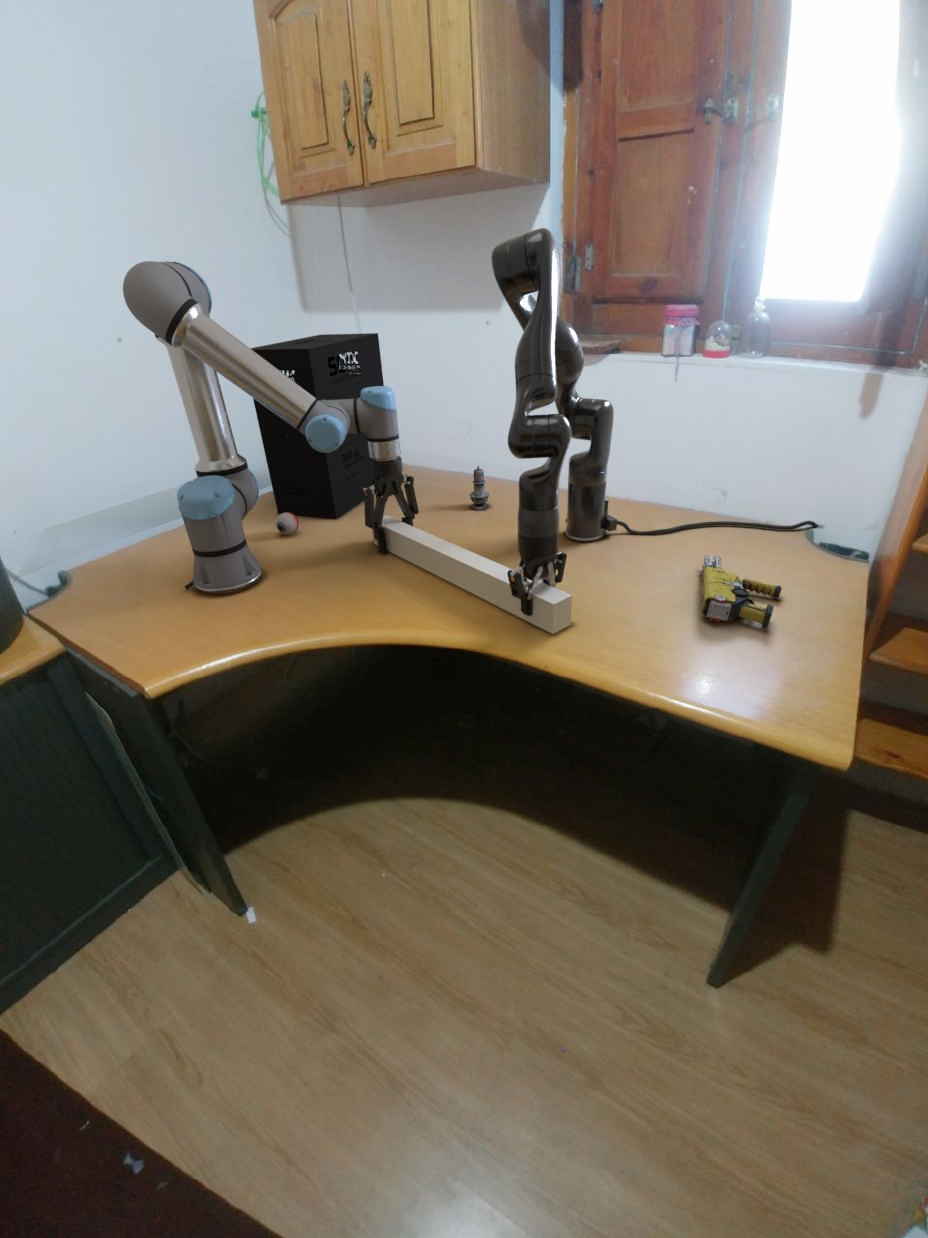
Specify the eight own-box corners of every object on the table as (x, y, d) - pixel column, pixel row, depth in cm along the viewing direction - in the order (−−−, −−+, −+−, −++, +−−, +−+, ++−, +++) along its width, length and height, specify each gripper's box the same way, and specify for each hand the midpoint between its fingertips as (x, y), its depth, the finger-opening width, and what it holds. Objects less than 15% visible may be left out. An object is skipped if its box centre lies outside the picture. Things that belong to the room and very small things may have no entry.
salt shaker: (488, 509, 173) (486, 468, 167) (468, 509, 175) (466, 468, 169) (491, 503, 178) (490, 462, 172) (471, 502, 180) (470, 462, 174)
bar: (570, 624, 116) (572, 595, 113) (553, 634, 114) (553, 604, 110) (389, 538, 159) (387, 515, 156) (373, 543, 156) (370, 520, 153)
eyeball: (273, 537, 164) (268, 516, 161) (287, 528, 169) (282, 508, 166) (291, 539, 161) (286, 518, 158) (305, 530, 166) (301, 510, 163)
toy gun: (779, 564, 127) (705, 551, 131) (794, 614, 107) (705, 598, 111) (772, 584, 129) (699, 571, 133) (786, 637, 109) (699, 620, 113)
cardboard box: (342, 476, 210) (320, 334, 188) (394, 479, 204) (377, 333, 181) (277, 513, 180) (242, 349, 158) (336, 518, 174) (308, 348, 151)
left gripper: (410, 445, 150) (418, 532, 161) (339, 463, 139) (354, 554, 150) (428, 450, 145) (436, 539, 156) (356, 469, 134) (370, 563, 145)
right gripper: (550, 513, 116) (548, 591, 125) (495, 533, 109) (497, 615, 117) (580, 522, 111) (576, 603, 120) (524, 545, 103) (524, 629, 112)
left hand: (395, 546), depth 153 cm, fingers open, 7 cm apart
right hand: (537, 608), depth 118 cm, fingers closed on bar, 5 cm apart
